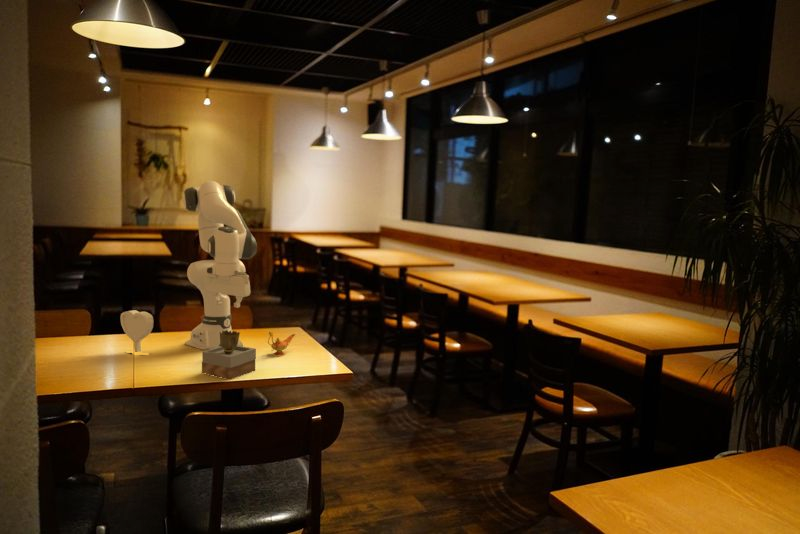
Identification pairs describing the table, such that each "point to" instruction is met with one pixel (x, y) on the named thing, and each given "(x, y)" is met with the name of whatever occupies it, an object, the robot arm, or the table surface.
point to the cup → (229, 340)
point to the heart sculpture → (137, 326)
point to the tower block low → (228, 370)
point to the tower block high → (229, 356)
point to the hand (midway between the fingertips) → (227, 305)
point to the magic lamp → (280, 344)
